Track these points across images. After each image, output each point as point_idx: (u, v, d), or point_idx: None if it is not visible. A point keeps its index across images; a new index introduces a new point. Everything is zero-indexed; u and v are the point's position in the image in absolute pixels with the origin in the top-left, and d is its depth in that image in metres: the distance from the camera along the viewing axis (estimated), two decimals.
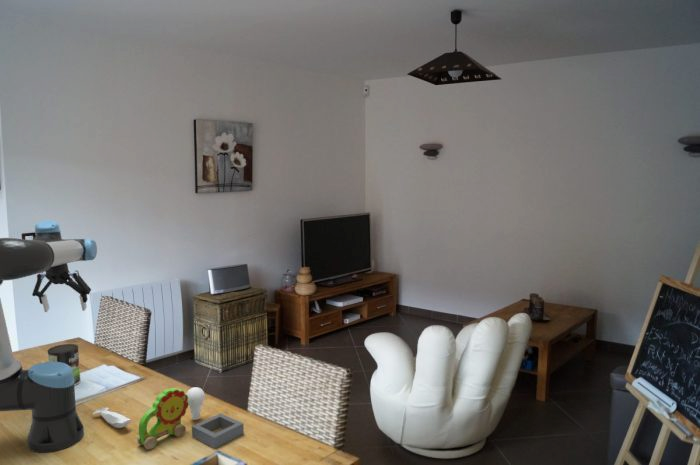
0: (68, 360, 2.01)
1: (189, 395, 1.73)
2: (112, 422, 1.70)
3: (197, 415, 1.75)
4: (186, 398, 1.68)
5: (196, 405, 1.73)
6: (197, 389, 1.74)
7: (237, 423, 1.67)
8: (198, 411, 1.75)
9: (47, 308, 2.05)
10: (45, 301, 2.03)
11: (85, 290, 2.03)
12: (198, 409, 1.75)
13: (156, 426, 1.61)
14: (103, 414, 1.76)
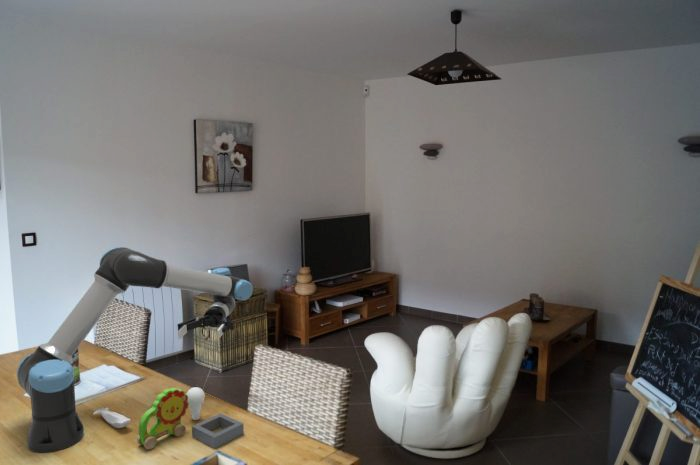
0: None
1: (189, 395, 1.73)
2: (112, 422, 1.70)
3: (197, 415, 1.75)
4: (186, 398, 1.68)
5: (196, 405, 1.73)
6: (197, 389, 1.74)
7: (237, 423, 1.67)
8: (198, 411, 1.75)
9: (181, 333, 1.85)
10: (184, 329, 1.88)
11: (231, 322, 1.92)
12: (198, 409, 1.75)
13: (156, 426, 1.61)
14: (103, 414, 1.76)
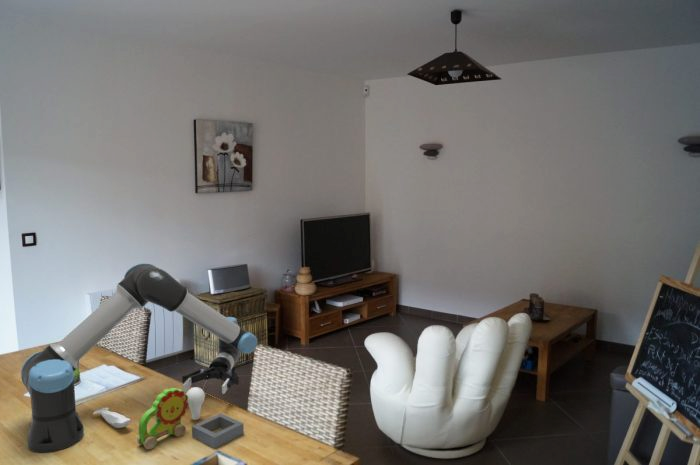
0: None
1: (189, 395, 1.73)
2: (112, 422, 1.70)
3: (197, 415, 1.75)
4: (186, 398, 1.68)
5: (196, 405, 1.73)
6: (197, 389, 1.74)
7: (237, 423, 1.67)
8: (198, 411, 1.75)
9: (185, 387, 1.84)
10: (189, 382, 1.87)
11: (236, 376, 1.91)
12: (198, 409, 1.75)
13: (156, 426, 1.61)
14: (103, 414, 1.76)
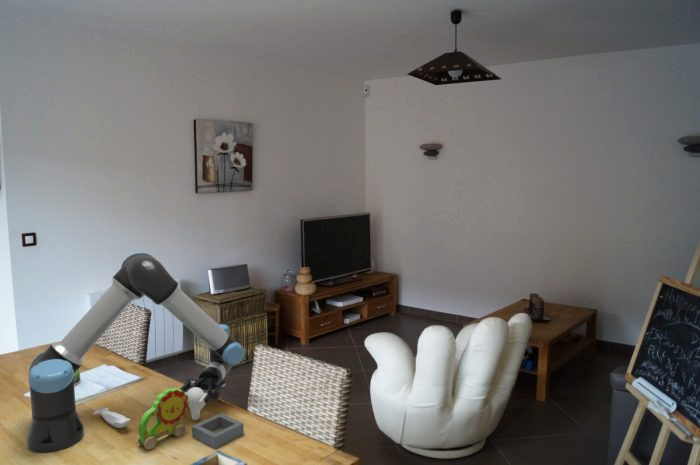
0: None
1: (189, 395, 1.73)
2: (112, 422, 1.70)
3: (197, 415, 1.75)
4: (186, 398, 1.68)
5: (196, 405, 1.73)
6: (197, 389, 1.74)
7: (237, 423, 1.67)
8: (198, 411, 1.75)
9: None
10: None
11: (216, 390, 1.79)
12: (198, 409, 1.75)
13: (156, 426, 1.61)
14: (103, 414, 1.76)
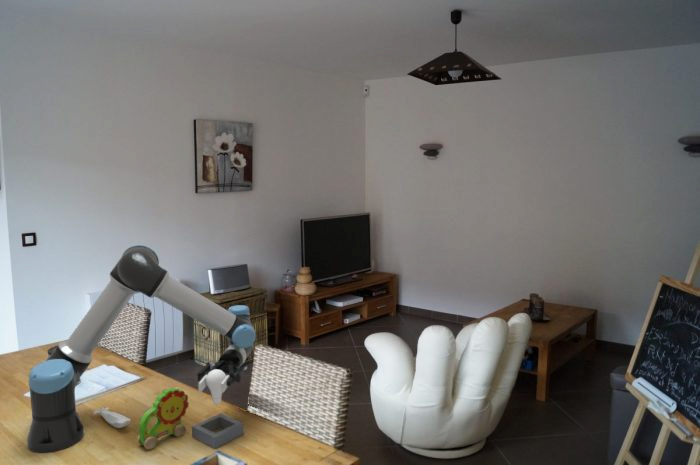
0: None
1: (210, 377, 1.61)
2: (112, 422, 1.70)
3: (218, 399, 1.64)
4: (186, 398, 1.68)
5: (217, 388, 1.62)
6: (218, 371, 1.63)
7: (237, 423, 1.67)
8: (219, 395, 1.63)
9: (201, 385, 1.60)
10: (205, 380, 1.63)
11: (239, 372, 1.67)
12: (219, 392, 1.63)
13: (156, 426, 1.61)
14: (103, 414, 1.76)
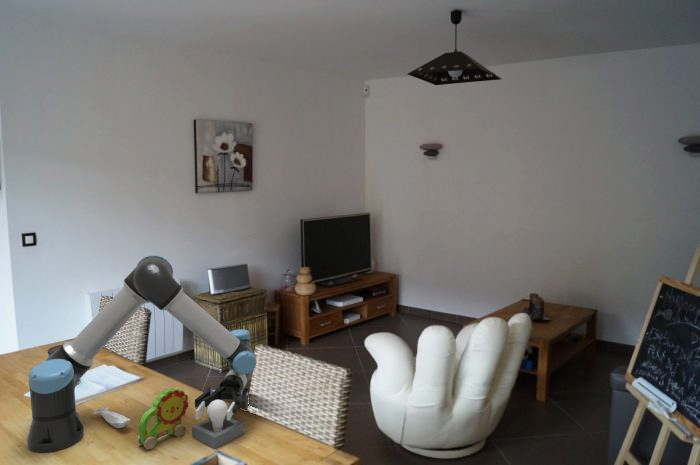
0: None
1: (212, 408, 1.63)
2: (112, 422, 1.71)
3: (219, 429, 1.65)
4: (186, 398, 1.68)
5: (219, 419, 1.63)
6: (220, 402, 1.64)
7: (237, 423, 1.67)
8: (220, 425, 1.65)
9: (199, 413, 1.62)
10: (202, 407, 1.65)
11: (243, 399, 1.69)
12: (220, 423, 1.65)
13: (156, 426, 1.61)
14: (103, 414, 1.76)
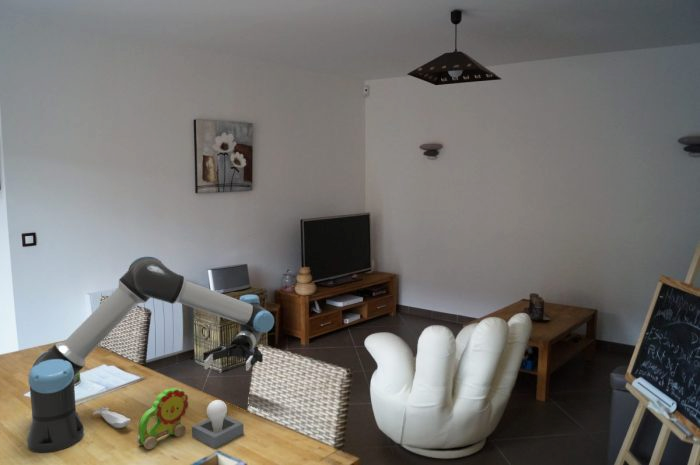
0: None
1: (211, 409, 1.63)
2: (112, 422, 1.70)
3: (219, 430, 1.65)
4: (186, 398, 1.68)
5: (218, 419, 1.63)
6: (219, 402, 1.64)
7: (237, 423, 1.67)
8: (220, 425, 1.65)
9: (207, 363, 1.75)
10: (210, 359, 1.78)
11: (259, 353, 1.82)
12: (220, 423, 1.64)
13: (156, 426, 1.61)
14: (103, 414, 1.76)
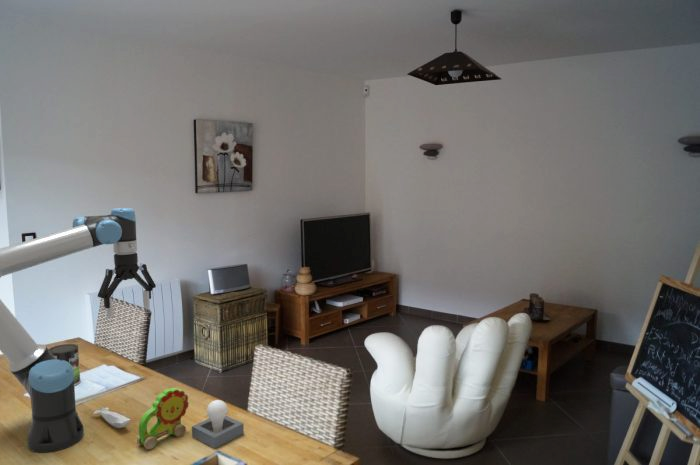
0: (68, 360, 2.01)
1: (211, 409, 1.63)
2: (112, 422, 1.71)
3: (219, 430, 1.65)
4: (186, 398, 1.68)
5: (218, 419, 1.63)
6: (219, 402, 1.64)
7: (237, 423, 1.67)
8: (220, 425, 1.65)
9: (145, 306, 1.93)
10: (144, 297, 1.93)
11: None
12: (220, 423, 1.64)
13: (156, 426, 1.61)
14: (103, 414, 1.76)
